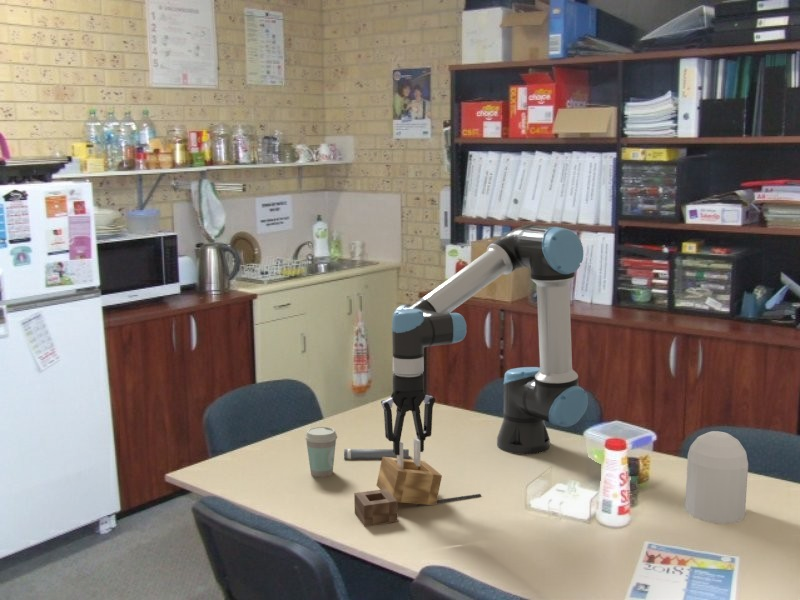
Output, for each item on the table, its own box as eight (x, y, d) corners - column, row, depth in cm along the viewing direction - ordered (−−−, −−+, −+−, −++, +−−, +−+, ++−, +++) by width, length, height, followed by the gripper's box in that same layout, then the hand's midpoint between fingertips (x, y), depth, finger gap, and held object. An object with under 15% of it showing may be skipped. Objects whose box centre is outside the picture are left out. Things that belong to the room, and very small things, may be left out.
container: (716, 530, 195) (720, 445, 192) (672, 509, 207) (676, 428, 204) (757, 518, 201) (763, 436, 198) (712, 498, 213) (717, 420, 210)
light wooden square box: (418, 489, 221) (424, 460, 220) (435, 505, 210) (442, 475, 210) (376, 485, 217) (382, 456, 216) (391, 501, 206) (398, 471, 205)
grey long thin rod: (480, 496, 215) (480, 493, 215) (481, 497, 214) (481, 494, 214) (417, 505, 210) (417, 502, 210) (418, 506, 209) (418, 503, 209)
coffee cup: (332, 480, 226) (332, 436, 224) (301, 478, 228) (300, 434, 226) (341, 469, 234) (340, 426, 232) (311, 467, 236) (310, 425, 234)
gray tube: (408, 450, 240) (344, 450, 241) (408, 460, 240) (344, 460, 241) (408, 448, 243) (344, 447, 244) (408, 458, 243) (344, 458, 244)
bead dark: (386, 508, 208) (386, 488, 207) (397, 521, 200) (397, 501, 200) (354, 513, 205) (354, 493, 204) (364, 526, 198) (364, 505, 197)
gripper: (434, 366, 215) (434, 456, 219) (370, 372, 210) (371, 464, 213) (446, 373, 208) (446, 466, 212) (379, 379, 203) (380, 475, 206)
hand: (408, 465), depth 213 cm, fingers open, 4 cm apart
